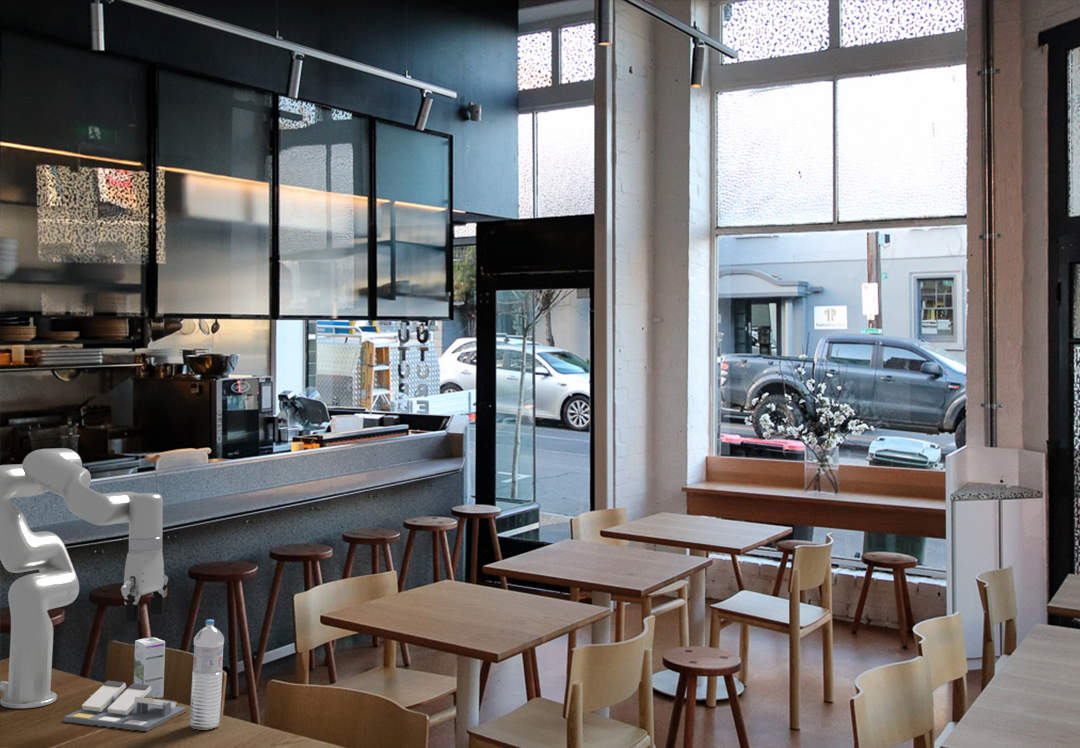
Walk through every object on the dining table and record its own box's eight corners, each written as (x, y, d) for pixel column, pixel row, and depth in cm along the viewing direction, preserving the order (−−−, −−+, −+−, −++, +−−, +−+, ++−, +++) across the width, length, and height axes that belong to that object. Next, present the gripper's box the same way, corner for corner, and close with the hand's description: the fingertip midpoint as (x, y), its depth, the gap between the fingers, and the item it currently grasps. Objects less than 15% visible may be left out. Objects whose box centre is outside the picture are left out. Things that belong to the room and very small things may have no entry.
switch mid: (108, 712, 245) (106, 707, 245) (132, 687, 254) (132, 682, 254) (127, 715, 244) (126, 709, 243) (151, 690, 253) (150, 684, 253)
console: (64, 721, 242) (65, 704, 243) (107, 702, 258) (108, 686, 258) (146, 732, 237) (147, 714, 238) (186, 712, 253) (186, 696, 253)
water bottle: (210, 732, 239) (215, 624, 240) (183, 729, 240) (189, 621, 241) (225, 724, 246) (230, 618, 246) (199, 721, 247) (204, 616, 248)
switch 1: (82, 709, 247) (81, 704, 246) (108, 684, 256) (107, 679, 255) (101, 711, 245) (100, 706, 245) (126, 687, 255) (125, 682, 254)
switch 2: (133, 701, 243) (135, 695, 244) (156, 705, 252) (157, 699, 253) (153, 704, 242) (154, 697, 242) (175, 707, 251) (176, 701, 251)
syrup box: (164, 697, 265) (166, 640, 265) (141, 701, 260) (144, 643, 261) (153, 692, 269) (156, 636, 269) (131, 696, 264) (134, 639, 265)
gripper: (152, 540, 256) (152, 610, 255) (109, 549, 239) (108, 624, 239) (180, 541, 254) (179, 611, 254) (137, 550, 238) (137, 625, 237)
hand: (145, 617), depth 246 cm, fingers open, 9 cm apart
